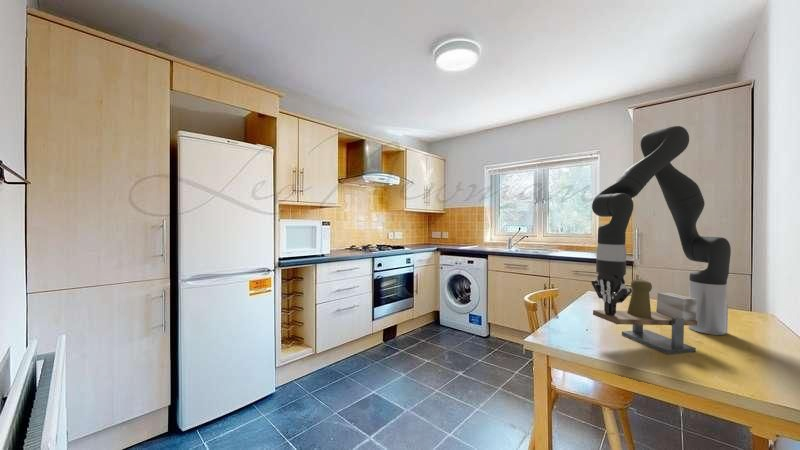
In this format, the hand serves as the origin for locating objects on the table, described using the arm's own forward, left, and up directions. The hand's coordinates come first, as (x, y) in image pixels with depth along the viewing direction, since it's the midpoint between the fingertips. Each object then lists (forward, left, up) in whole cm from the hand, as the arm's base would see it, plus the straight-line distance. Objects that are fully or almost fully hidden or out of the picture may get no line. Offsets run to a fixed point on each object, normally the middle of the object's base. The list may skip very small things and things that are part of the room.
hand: (609, 314), depth 94 cm
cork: (-11, 0, -1) cm, 11 cm away
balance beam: (-12, 0, -2) cm, 13 cm away
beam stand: (-17, 0, -10) cm, 20 cm away
